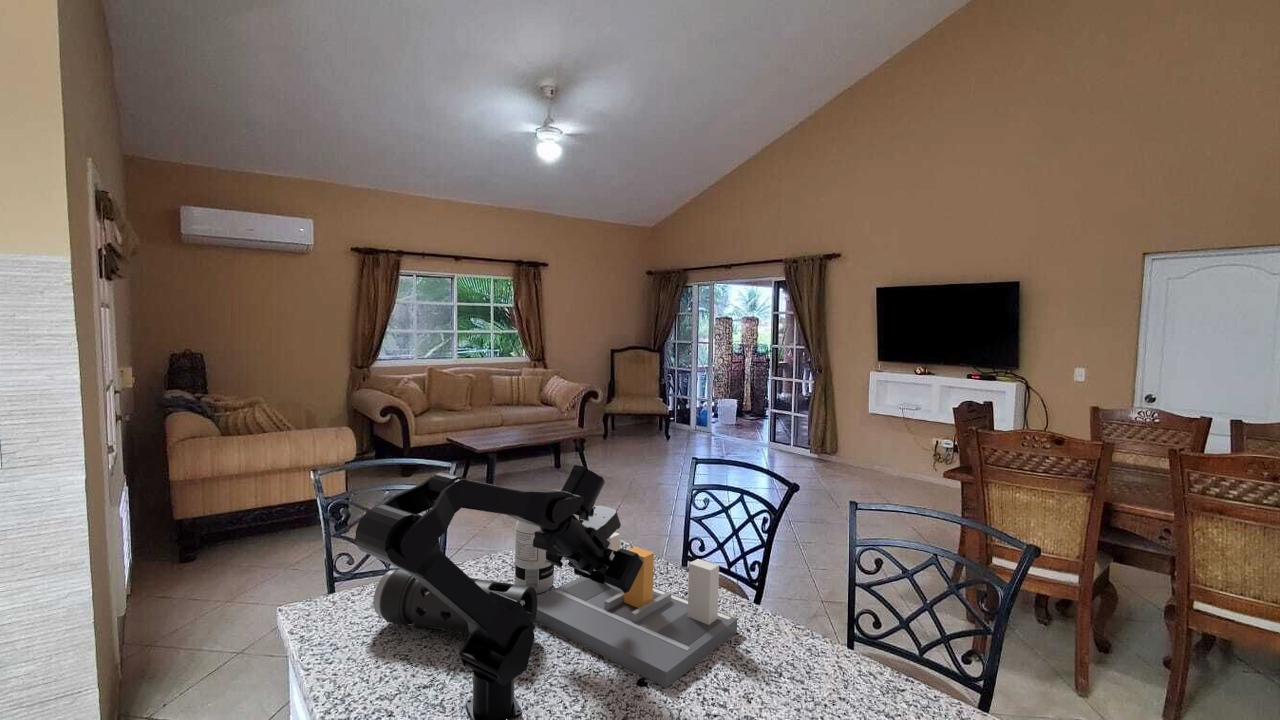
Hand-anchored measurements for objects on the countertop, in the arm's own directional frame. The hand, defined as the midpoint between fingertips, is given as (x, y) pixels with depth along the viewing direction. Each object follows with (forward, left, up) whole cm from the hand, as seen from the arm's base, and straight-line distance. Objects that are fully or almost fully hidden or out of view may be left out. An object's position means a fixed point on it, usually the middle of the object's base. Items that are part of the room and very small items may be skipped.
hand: (614, 580), depth 101 cm
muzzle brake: (+13, +25, -10) cm, 30 cm away
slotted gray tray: (+1, -4, -10) cm, 10 cm away
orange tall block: (+2, -7, -7) cm, 10 cm away
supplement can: (+24, +6, -10) cm, 27 cm away
